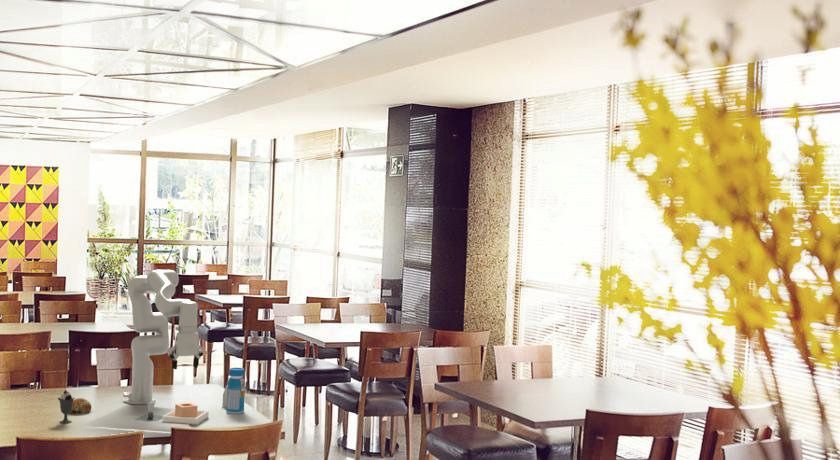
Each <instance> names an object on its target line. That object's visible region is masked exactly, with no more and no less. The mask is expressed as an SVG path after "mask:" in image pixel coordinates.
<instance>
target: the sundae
mask: <svg viewBox="0 0 840 460" xmlns="http://www.w3.org/2000/svg"><path fill="white" fill-rule="evenodd" d="M62 387H63V388H64V391H63V393H62V395H61V396H60V397H57V401H58V402H59V407H60V412H61V413H62V414H63V416H64V417H63V420H61V421H59V422H58V423H59V424H63V425H64V424H65V425H66V424H72V420H69V419H68V414H69V412H70V411H71V409H72V404H73V400H75V399H76V397H74V396H72V394H71V393H70V392H69V391H68V390H66V387H65V385H64V386H62Z"/></svg>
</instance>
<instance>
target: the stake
mask: <svg viewBox="0 0 840 460" xmlns="http://www.w3.org/2000/svg"><path fill="white" fill-rule="evenodd" d="M154 414H155V402H149V403H148V404H147V414H142V415H140V416H137V418H135V419H134V420H135V421H150V422H151V421H152V422H159V421H160V420H162V416H163V415H157V414H155V415H154Z"/></svg>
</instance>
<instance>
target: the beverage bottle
mask: <svg viewBox="0 0 840 460" xmlns="http://www.w3.org/2000/svg"><path fill="white" fill-rule="evenodd" d="M228 375H229V378H228V380H227V382H226V384H227V386H228V387H227V402H226V408H225V412H226V413H227V414H232V415H233V414H237V415H238V414H242V413H244V412H245V400H246V397H245V396H246V381H245V378H244V376H245V368H244V367H243V368H242V367H231V368H229V373H228Z"/></svg>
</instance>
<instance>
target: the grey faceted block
mask: <svg viewBox="0 0 840 460" xmlns="http://www.w3.org/2000/svg"><path fill="white" fill-rule="evenodd" d="M227 387H228V385H225V388H224V390H223V394H222V405H221V406H222V408H225V409H226V402H227Z"/></svg>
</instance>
